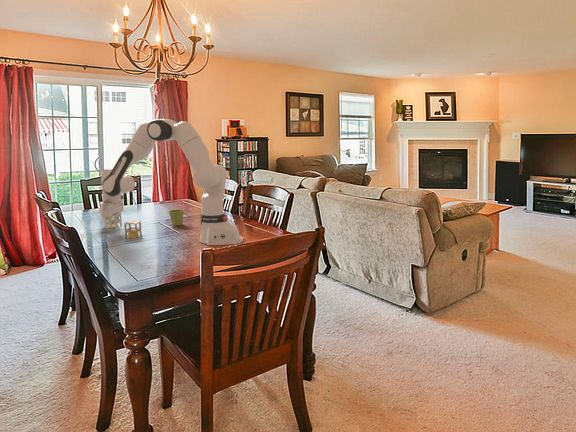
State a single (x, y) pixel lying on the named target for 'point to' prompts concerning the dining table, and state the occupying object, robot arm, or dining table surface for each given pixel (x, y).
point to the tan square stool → (133, 228)
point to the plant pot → (177, 217)
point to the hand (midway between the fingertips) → (113, 223)
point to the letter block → (132, 234)
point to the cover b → (114, 221)
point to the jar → (104, 219)
